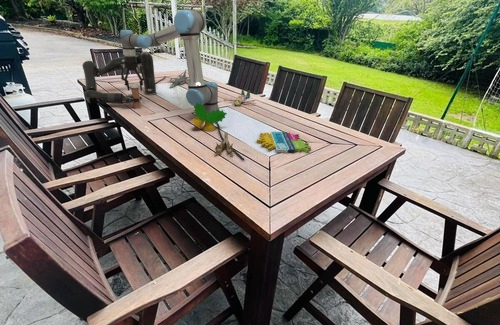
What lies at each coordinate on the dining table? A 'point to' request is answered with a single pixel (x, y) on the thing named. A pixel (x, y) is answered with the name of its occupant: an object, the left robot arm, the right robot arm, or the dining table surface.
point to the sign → (283, 142)
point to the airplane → (179, 80)
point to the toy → (241, 99)
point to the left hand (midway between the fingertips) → (140, 99)
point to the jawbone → (224, 145)
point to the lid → (134, 85)
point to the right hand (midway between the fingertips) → (135, 90)
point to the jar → (136, 97)
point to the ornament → (207, 117)
